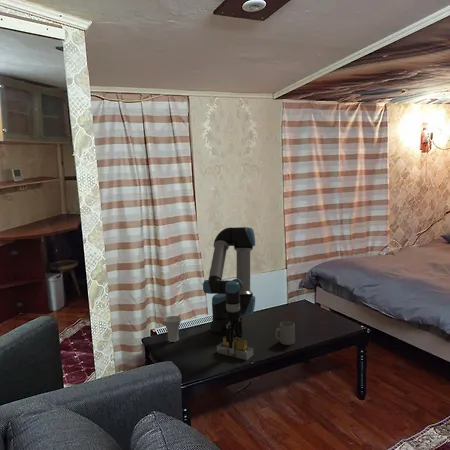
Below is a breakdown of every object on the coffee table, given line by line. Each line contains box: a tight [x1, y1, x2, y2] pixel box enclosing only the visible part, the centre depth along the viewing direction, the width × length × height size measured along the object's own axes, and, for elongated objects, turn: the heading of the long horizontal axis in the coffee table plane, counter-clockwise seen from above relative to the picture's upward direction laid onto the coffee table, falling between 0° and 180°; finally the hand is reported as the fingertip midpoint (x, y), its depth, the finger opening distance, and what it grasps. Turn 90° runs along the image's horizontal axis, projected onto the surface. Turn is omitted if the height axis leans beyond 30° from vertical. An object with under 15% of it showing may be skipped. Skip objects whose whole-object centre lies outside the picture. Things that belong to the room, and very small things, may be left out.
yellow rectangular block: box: [222, 335, 248, 352], centre depth 225 cm, size 14×3×7 cm, turn 56°
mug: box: [274, 320, 296, 346], centre depth 237 cm, size 12×8×11 cm
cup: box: [162, 315, 182, 343], centre depth 245 cm, size 10×10×14 cm
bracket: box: [216, 341, 254, 361], centre depth 226 cm, size 19×7×4 cm, turn 56°
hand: (234, 350), depth 226 cm, fingers open, 5 cm apart
